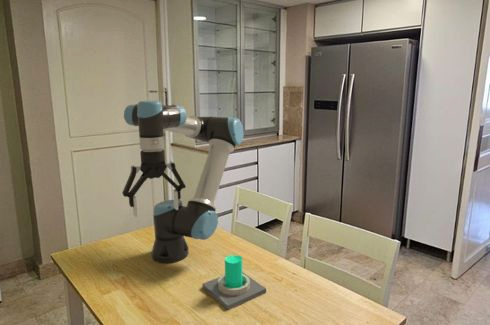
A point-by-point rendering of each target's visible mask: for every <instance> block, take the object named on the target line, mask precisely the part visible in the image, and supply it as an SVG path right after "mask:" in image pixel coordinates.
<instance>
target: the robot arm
mask: <svg viewBox="0 0 490 325" xmlns="http://www.w3.org/2000/svg"><path fill="white" fill-rule="evenodd" d="M123 112H124V113H123V119H124V121H125V123H126V124H127V125H129V126H134V127H138V133H139V134H138V138H139V139H138V140H139V149H140V166H135V165H131V167H130V173H129V176H128V179H127V181H126V183H125V185H124V188H123V190H122V195H123V197H125V198H127V197H128V204H129V207H130V208H132V211H133V213H132V214H133V216H134V217H135V218H137V217H138V207H137V206H138V204H137V197H136V194H137V192H138V191H139V190H140V188H141V187H142V186H143V185H144V183H145V182H146V181H147V180H148V179H149V180H153V179H160V178H161V177H163V178H164V179H165V180H166V181H167V182H168V183H169V184H170V185H171V186H172V187H173V188H174V189H173V190H172V191H173V192H172V194H173V199H169V200H163V201H161V202H159V203H156V204H155V205H154V206H153V214H152V215H153V226H154V235H155V236H154V242H153V246H152V249H151V257H152V259H153V260H154V261H156V262H158V263H163V264H168V263H176V262H179V261H181V260H184V259H185V258H187V257H188V255H189V245H188V243H187V241H186V239H185V237H186V238H191V239H194V240H201V241H205V240H208V239H209V238H210V237H212V236H213V235H214V233H215V231H216V230H217V228H218V224H219V216H218V214H217V212H216V210H217V208H216V207H215V205H214V204H215V201H216V199H217V194H218V192H219V188H220V185H221V182H222V179H223V176H224V172H225V169H226V166H227V162H228V159H229V156H230V153H232V152H234V151H235V148H236V146H240V145H241V144H242V143H243V140H244V127H243V126H244V125H243V123H242V122H241V120H240V119H239V118H237V117H231V116H229V117H223V116H221V117H220V116H194V115H189V116H188V115H187V114H188V113H187V111H186V109H185V107H183V106H182V105H179V104H171V105H168V104H167V105H166V104H165V105H164V104H163V105H162V101H160V100H142V101H141V100H140V101H139V102H137V103H135V104H129V105H127V106H126V107H125V109H124V111H123ZM164 131H165V132H166V131H167V132H171V133H175V134H176V133H177V134H180V135H184V136H186V138H188V139H189V138H190V139H193V140H197V141H201V142H205V143H208V145H209V147H210V148H209V151H208V153H207V156H206V160H205V162H204V164H203V165H204V166H203V168H202V171H201V174H200V177H199V181H198V182H197V187H196V189H195V193H194V195H193V197H192V198H191V199H189V200H188V201H187V204H186V206H185V205H183V201H182V200H181V197H182V196H181V194H182V193H181V191H182V189H185V188H186V184H185V183H184V181H183V179H182V177H181V175H180V174H179V172H178V170H177V168H176V163H175V162H173V161H169V163H167V162H166V155H165V150H164V148H165V141H164V140H165V138H164ZM167 168H168V169H169V170H170V171H171V173H172V174H173V176H174V177H175V179H176V181H177V183H178V184H177V183H176V182H175V181H174V180H173V179H172V178H171V177H169V175H167V174H166V172H165V171H166V169H167ZM139 171H141V172H142V174H141V175H140V177H139V179H138V180H137V181H136V182H135V184H134V180H135V179H136V177H137V174H139ZM133 184H134V185H133ZM132 185H133V187H132ZM131 187H132V188H131Z"/></svg>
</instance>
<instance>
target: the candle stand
mask: <svg viewBox="0 0 490 325" xmlns="http://www.w3.org/2000/svg"><path fill="white" fill-rule="evenodd" d="M201 287H202V289H203V290H204V291H206V292H207V293H208V294H209V295H210V296H211V297H212V298H214V299H215V300H216V301H217V302H218V303H219V304H220V305H222V306H223V307H224V308H226V310H231V309H233V308H236V307H238V306H239V305H241V304H244V303H247V302H248V301H251V300H253V299H254V298H257V297H259V296H261V295H263V294H265V293H267V288H266V287H265V286H263V285H262V284H260V283H259V282H258V281H256V280H255V279H254V278H252V277H250V276H249V275H247V274H246V273H245V272H243V271H242V287H240V288H228V287H225V274H222V275H221V276H219V277H216V278H213V279H211V280H209V281H208V280H207V281H206V282H203V283H202V284H201Z"/></svg>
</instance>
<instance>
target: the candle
mask: <svg viewBox="0 0 490 325" xmlns="http://www.w3.org/2000/svg"><path fill="white" fill-rule="evenodd" d="M242 272H243V257H242V256H241V255H238V254H237V255H235V254H234V253H233V255H232V254H229V255H227V256H226V257H225V258H224V275H225V287H228V288H240V287H242Z"/></svg>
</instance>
